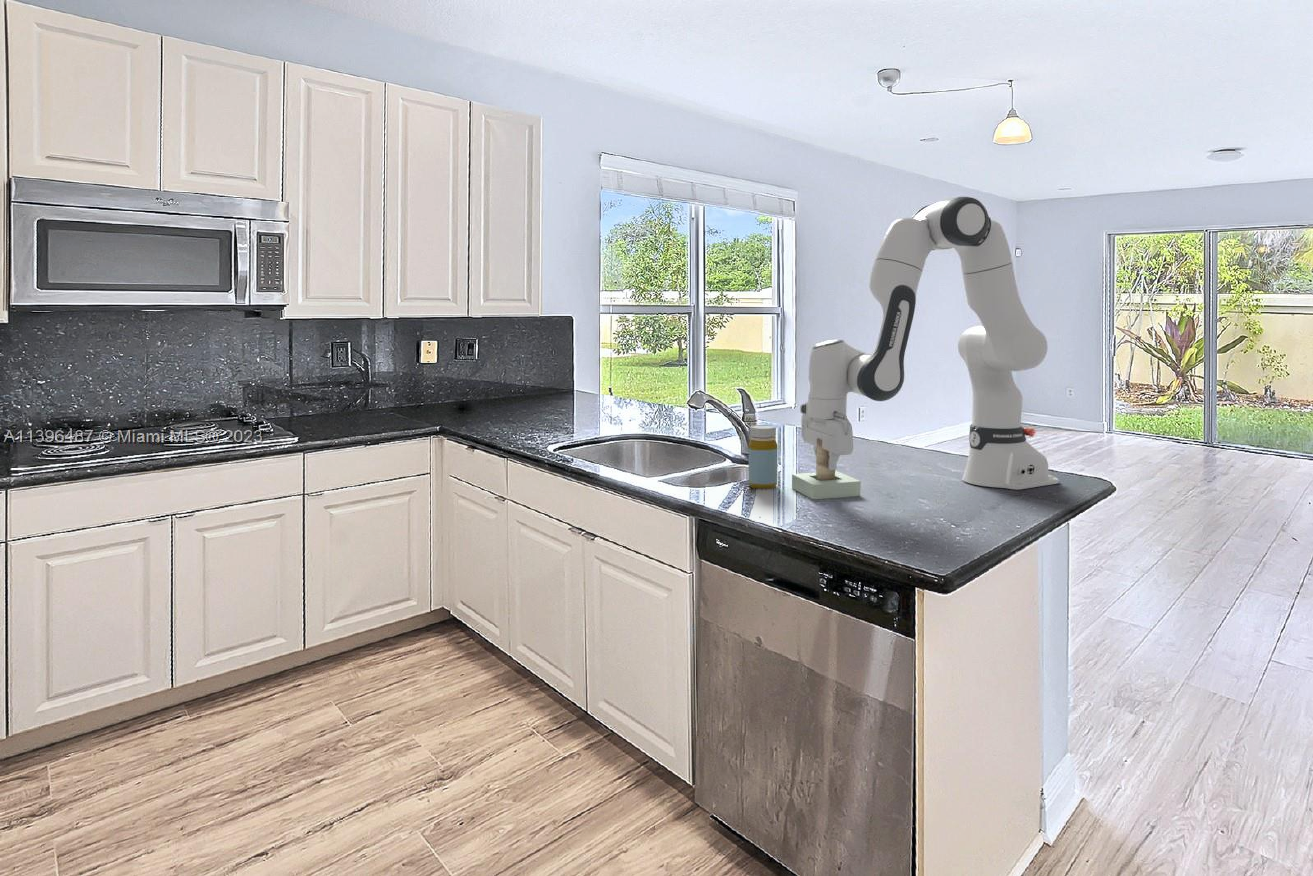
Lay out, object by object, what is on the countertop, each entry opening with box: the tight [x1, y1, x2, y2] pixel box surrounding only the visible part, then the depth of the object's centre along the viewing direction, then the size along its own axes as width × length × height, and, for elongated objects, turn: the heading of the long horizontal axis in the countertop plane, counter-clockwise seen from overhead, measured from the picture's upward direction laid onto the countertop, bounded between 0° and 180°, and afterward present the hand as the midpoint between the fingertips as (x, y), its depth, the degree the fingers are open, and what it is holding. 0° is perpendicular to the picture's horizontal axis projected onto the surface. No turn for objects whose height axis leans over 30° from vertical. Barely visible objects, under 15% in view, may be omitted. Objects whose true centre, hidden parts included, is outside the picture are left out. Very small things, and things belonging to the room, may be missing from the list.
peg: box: [815, 438, 836, 481], centre depth 185 cm, size 4×4×12 cm
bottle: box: [748, 424, 779, 490], centre depth 192 cm, size 7×7×15 cm
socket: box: [791, 470, 862, 500], centre depth 186 cm, size 12×12×4 cm
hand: (826, 467), depth 186 cm, fingers closed on peg, 4 cm apart
